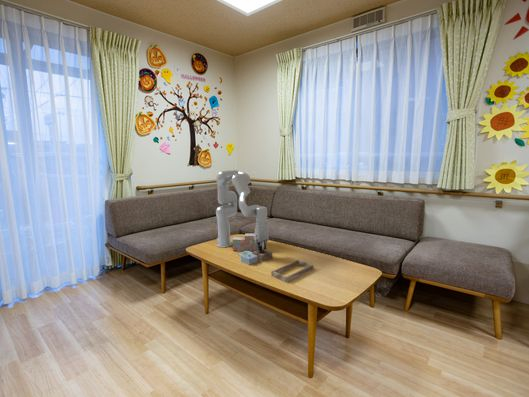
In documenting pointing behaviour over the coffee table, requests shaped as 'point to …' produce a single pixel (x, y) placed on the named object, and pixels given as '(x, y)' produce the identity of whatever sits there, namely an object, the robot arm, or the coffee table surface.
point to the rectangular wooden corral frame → (288, 266)
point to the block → (249, 258)
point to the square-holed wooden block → (263, 255)
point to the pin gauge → (262, 247)
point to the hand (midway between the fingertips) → (262, 249)
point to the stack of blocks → (245, 243)
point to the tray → (243, 253)
